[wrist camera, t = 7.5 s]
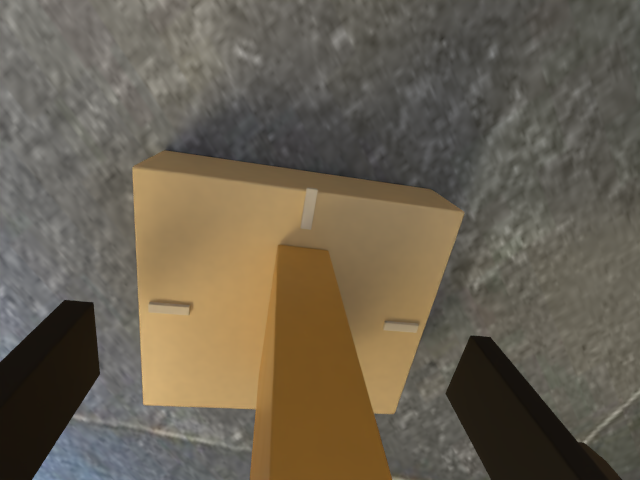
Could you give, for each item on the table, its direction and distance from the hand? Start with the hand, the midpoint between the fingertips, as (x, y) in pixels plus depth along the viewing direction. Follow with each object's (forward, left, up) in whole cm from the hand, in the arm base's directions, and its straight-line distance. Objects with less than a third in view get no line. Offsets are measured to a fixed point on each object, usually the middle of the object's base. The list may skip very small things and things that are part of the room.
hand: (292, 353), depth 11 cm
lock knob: (0, 0, -2) cm, 2 cm away
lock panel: (0, 0, -5) cm, 5 cm away
